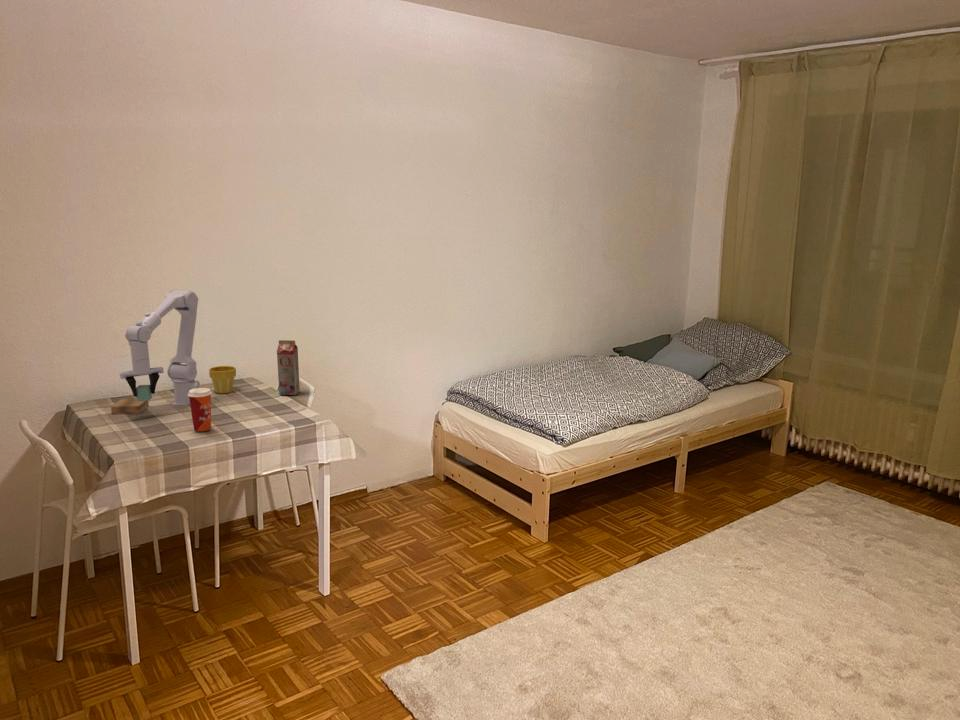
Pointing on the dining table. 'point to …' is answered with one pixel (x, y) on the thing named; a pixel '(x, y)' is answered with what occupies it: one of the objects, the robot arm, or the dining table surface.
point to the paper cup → (200, 408)
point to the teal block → (144, 392)
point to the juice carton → (288, 367)
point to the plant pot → (222, 378)
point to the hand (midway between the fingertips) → (144, 394)
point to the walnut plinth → (129, 406)
